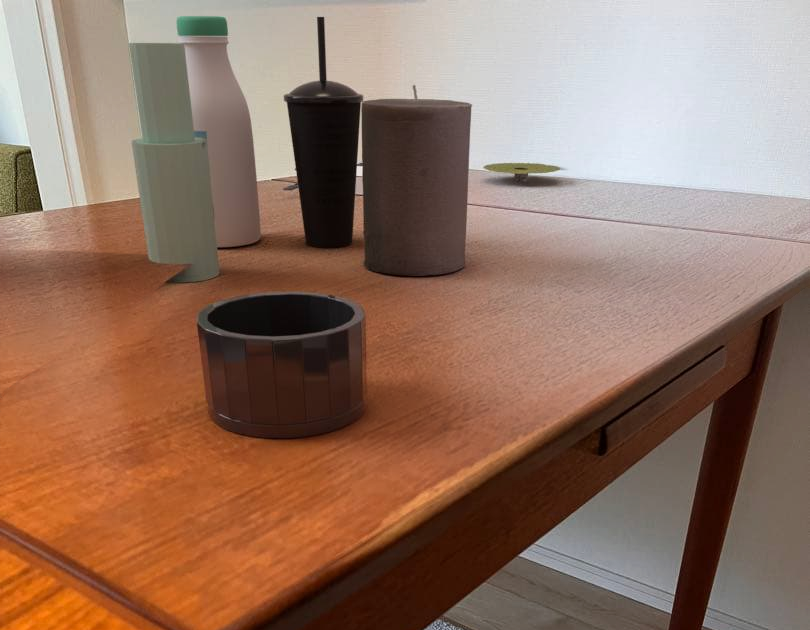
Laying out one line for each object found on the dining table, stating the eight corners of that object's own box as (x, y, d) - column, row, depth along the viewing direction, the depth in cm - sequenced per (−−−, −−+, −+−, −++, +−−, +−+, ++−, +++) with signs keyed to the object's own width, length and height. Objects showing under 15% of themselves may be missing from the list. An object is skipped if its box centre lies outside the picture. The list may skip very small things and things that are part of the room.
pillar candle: (346, 271, 77) (340, 86, 69) (387, 249, 85) (386, 80, 77) (446, 281, 74) (452, 89, 66) (479, 258, 82) (488, 83, 74)
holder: (185, 433, 46) (171, 334, 43) (236, 375, 54) (227, 288, 51) (350, 443, 45) (347, 343, 42) (378, 382, 53) (377, 294, 50)
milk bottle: (254, 231, 92) (236, 17, 82) (267, 246, 86) (249, 15, 75) (183, 236, 90) (155, 16, 79) (190, 251, 84) (161, 15, 73)
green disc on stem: (538, 189, 118) (540, 174, 117) (468, 182, 123) (469, 168, 122) (571, 180, 126) (572, 165, 125) (504, 173, 131) (505, 160, 130)
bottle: (140, 281, 74) (103, 43, 64) (166, 265, 79) (136, 42, 69) (206, 284, 73) (179, 43, 64) (228, 267, 78) (205, 43, 69)
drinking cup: (348, 253, 83) (341, 16, 73) (279, 247, 85) (263, 15, 75) (377, 238, 89) (374, 17, 79) (312, 233, 92) (301, 17, 81)
